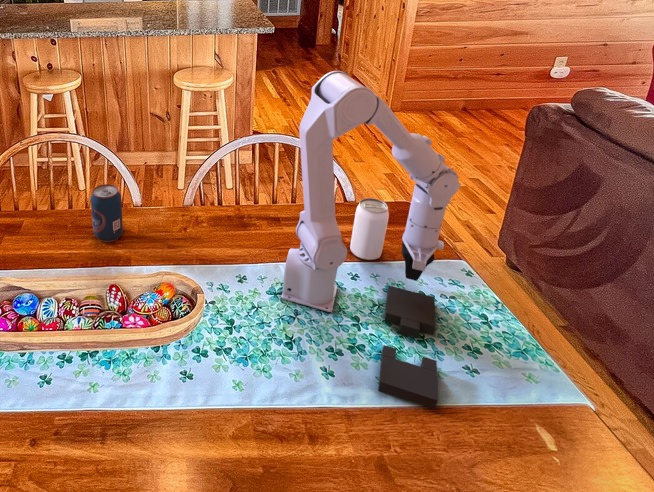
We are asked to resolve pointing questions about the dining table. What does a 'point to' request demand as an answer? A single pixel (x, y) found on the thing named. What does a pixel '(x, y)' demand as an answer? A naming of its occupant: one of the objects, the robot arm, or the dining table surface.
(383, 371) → the notch pad
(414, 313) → the tab pad
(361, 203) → the can
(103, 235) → the soda can
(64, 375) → the dining table surface
